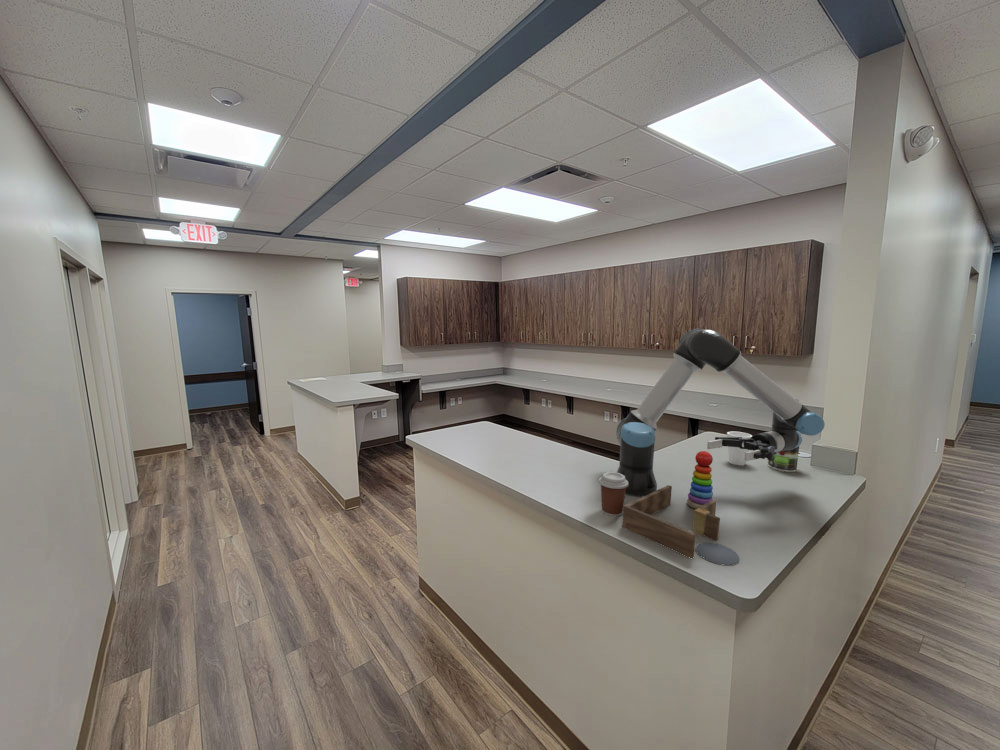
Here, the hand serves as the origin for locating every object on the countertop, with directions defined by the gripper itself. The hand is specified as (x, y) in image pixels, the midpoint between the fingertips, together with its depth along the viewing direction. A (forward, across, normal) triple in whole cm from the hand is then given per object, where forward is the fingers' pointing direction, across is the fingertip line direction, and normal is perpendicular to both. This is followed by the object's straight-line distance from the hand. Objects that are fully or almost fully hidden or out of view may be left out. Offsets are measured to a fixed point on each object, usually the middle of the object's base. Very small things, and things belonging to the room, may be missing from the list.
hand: (726, 450), depth 134 cm
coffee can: (-54, +13, -19) cm, 59 cm away
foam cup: (-42, +24, -18) cm, 52 cm away
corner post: (+25, -12, -18) cm, 33 cm away
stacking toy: (+10, 0, -18) cm, 21 cm away
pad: (+31, -21, -18) cm, 41 cm away
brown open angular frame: (+29, -7, -18) cm, 35 cm away
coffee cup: (+40, +9, -18) cm, 45 cm away
